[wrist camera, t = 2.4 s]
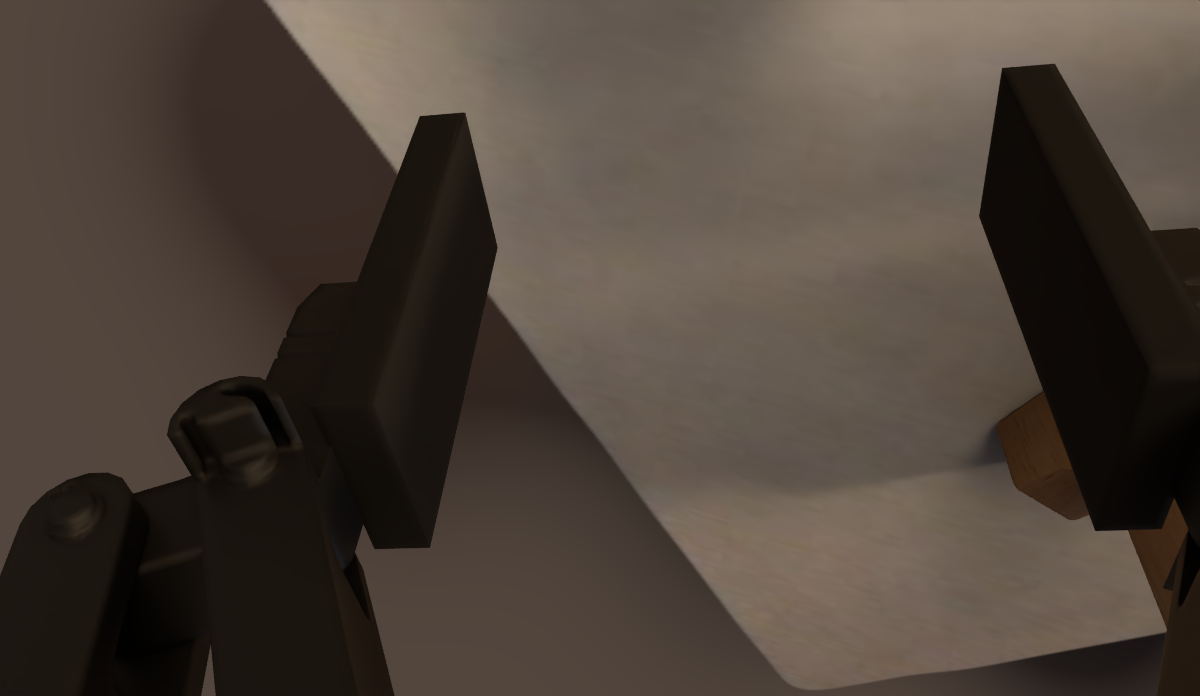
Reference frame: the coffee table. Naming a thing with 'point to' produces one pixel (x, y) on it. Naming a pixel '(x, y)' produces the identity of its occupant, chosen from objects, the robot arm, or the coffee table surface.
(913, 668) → the coffee table surface
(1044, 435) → the wooden block
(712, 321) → the coffee table surface
